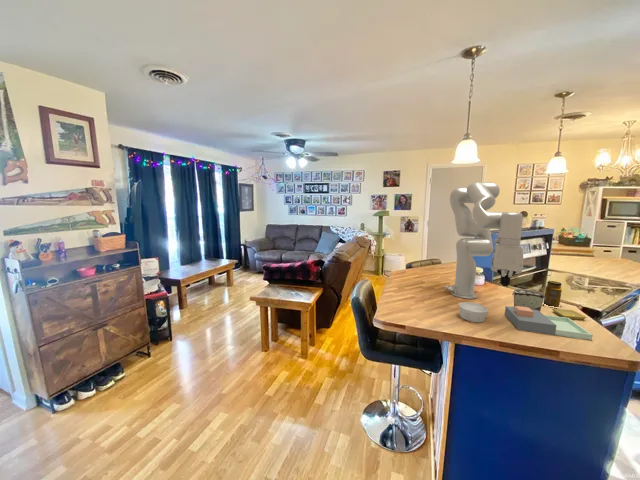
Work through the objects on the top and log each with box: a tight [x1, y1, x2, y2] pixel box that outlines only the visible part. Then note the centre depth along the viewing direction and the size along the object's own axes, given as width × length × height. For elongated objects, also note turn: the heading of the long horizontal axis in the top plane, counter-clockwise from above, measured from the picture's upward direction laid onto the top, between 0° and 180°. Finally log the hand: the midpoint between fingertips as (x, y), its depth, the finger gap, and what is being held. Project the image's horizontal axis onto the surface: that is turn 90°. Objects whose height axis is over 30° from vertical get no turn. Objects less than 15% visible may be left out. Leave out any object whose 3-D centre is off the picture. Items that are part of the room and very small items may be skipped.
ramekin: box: [458, 301, 489, 323], centre depth 115 cm, size 11×11×5 cm
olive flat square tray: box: [551, 308, 587, 320], centre depth 120 cm, size 9×9×2 cm
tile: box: [513, 306, 534, 317], centre depth 110 cm, size 5×5×2 cm
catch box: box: [544, 314, 593, 341], centre depth 107 cm, size 11×16×2 cm
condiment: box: [543, 280, 563, 307], centre depth 132 cm, size 7×8×12 cm
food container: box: [511, 288, 545, 312], centre depth 124 cm, size 12×6×10 cm, turn 71°
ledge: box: [504, 305, 556, 336], centre depth 110 cm, size 12×16×4 cm
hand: (504, 285), depth 111 cm, fingers closed
